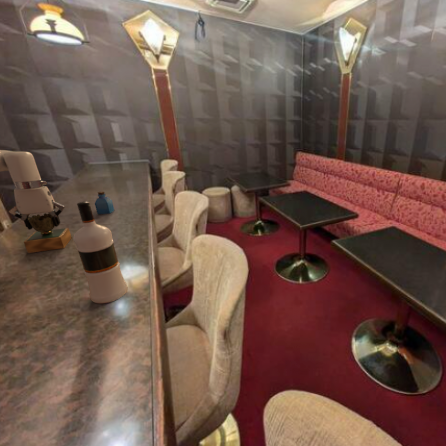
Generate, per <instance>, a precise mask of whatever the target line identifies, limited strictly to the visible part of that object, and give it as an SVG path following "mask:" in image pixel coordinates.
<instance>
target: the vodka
mask: <svg viewBox="0 0 446 446" xmlns="http://www.w3.org/2000/svg"><path fill="white" fill-rule="evenodd" d="M76 205H77V209H78V212H79V215H80V220H81V222H82V225H83V226H81V227H80V228H79V229H78V230H76V231H75V232H74V233H73V237H72V241H73V243H74V245H75V249H76V250H77V253H78V255H79V258H80V261H81V264H82V267H83V269H84V270H83V274H84V275H85V277H86V280H87V284H88V289H89V299H90V300H91V301H92V302H93V303H94V304H108V303H111V302H115V301H117V300H118V299H121V298H122V297H123V296H124V295H126V293H127V292H128V290H129V289H128V288H129V287H128V283H127V281H125V278H124V275H123V272H122V270H121V263H120V262H119V259H118V256H117V255H118V254H117V252H116V248H115V244H114V239H113V234H112V231H111V229H110V228H109V227H107V226H105V225H102V224H97V223H96V220H95V217H94V213H93V211H92V208H91V204H90V202H89V201H80V202H77V203H76Z"/></svg>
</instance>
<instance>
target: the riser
mask: <svg viewBox="0 0 446 446" xmlns="http://www.w3.org/2000/svg"><path fill="white" fill-rule="evenodd" d="M52 231H53V232H52V233H51V234H49V235H41V234H40V232H38V231H34V232H33V233H32V234H31V235H29V237H27V238H26V239H25V240H24V241H23V244H24V247H25V249H26V252H27V254H33V253H39V252H46V251H53V250H60V249H61V250H62V249H65V248H66V246H67V245H68V244H69V243H70V241H71V240H72V239H73V237H72V235H71V231H70V228H69V227H65V228H57V229H56V228H54V229H52Z"/></svg>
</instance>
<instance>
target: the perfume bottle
mask: <svg viewBox="0 0 446 446" xmlns="http://www.w3.org/2000/svg"><path fill="white" fill-rule="evenodd" d="M97 197H98V198H96V199H95V202H94V207H95V209H96V213H97V215H107V214H108V215H109V214H111V213H113V212H114V211H115V208H114V204H113V200H112V199H111V198H110V197H109V196H106V193H105V191H97Z"/></svg>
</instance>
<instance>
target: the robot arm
mask: <svg viewBox="0 0 446 446" xmlns="http://www.w3.org/2000/svg"><path fill="white" fill-rule="evenodd" d="M0 172H9V175H10V177H11V180H12V183H13V185H14V189H13V194H14V195H13V196H14V201H15V205H14V206H13V207H12V208H11V209H10V210H8V213H9V214H10V215H13V216H15V217H16V218H18V219H20V220H21V221H23V223H24V225H25V227H26V228H27V230H29V231H30V230H32V229H34V228H33V227H32V225H31V224H30V222H29V220H28V218H29V217H30V215H35V214H36V215H37V214H44V213H46V214H48V213H49V214H51V215H52V216H53V218H52V220H53V222H54V225H55V227H59V225H60V224H61V220H60V215H61V213H62V212H63V211H64V210H65V208H66V206H65V205H64V204H61V203H59V202H56V201H55V198H54V196H53V195H52V192H51V190H50V189H49V188H48V186H45V185H48V181H47V180H43V179H42V178H41V175H40V172H39V169H38V165H37V163H36V160H35V157H34V155H33V154H32V153H31V152H29V151H12V150H6V149H0ZM57 208H58V210H55V209H57Z"/></svg>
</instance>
